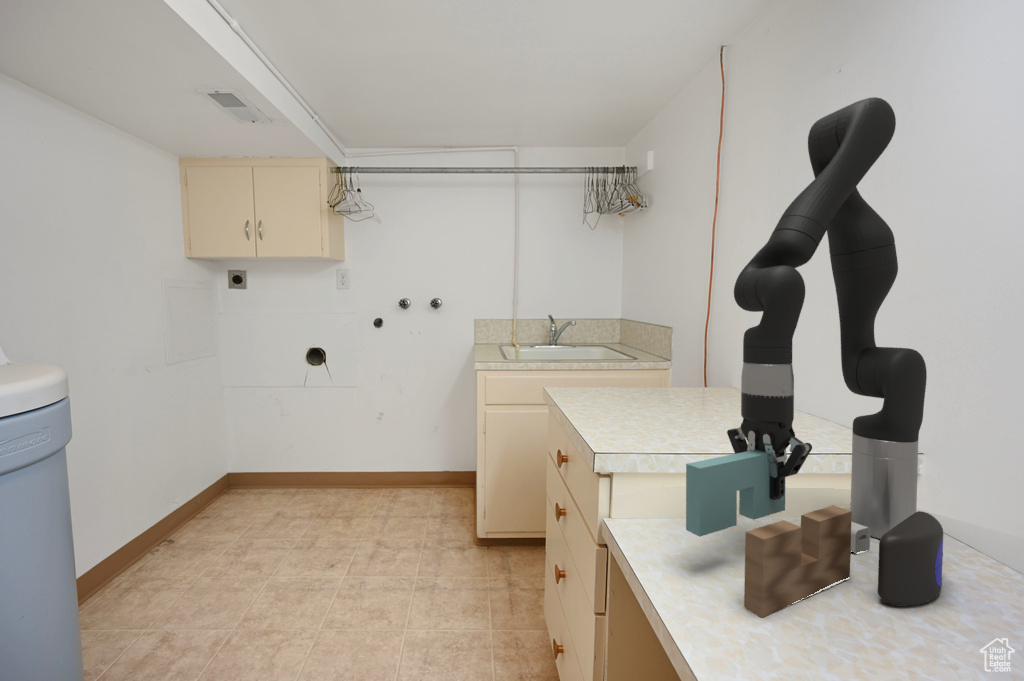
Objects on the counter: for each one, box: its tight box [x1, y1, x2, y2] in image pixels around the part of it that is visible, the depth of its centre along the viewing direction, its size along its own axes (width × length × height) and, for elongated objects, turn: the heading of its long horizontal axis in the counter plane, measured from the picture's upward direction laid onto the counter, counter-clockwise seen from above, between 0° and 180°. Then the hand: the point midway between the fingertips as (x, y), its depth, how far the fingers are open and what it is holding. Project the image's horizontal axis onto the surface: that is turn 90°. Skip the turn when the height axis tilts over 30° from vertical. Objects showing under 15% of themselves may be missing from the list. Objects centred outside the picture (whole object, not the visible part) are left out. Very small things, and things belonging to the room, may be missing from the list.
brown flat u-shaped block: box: [743, 505, 852, 619], centre depth 63 cm, size 20×2×10 cm, turn 117°
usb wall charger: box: [851, 522, 871, 553], centre depth 78 cm, size 4×7×4 cm, turn 24°
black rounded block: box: [877, 511, 944, 607], centre depth 64 cm, size 16×5×9 cm, turn 125°
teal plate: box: [685, 450, 786, 537], centre depth 72 cm, size 2×20×10 cm, turn 117°
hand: (766, 495), depth 76 cm, fingers closed on teal plate, 2 cm apart
